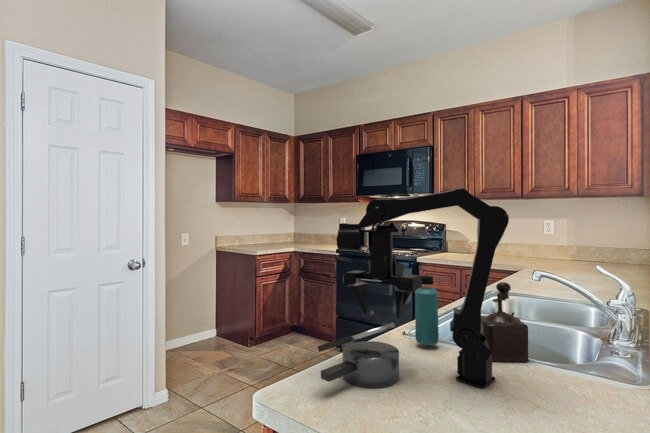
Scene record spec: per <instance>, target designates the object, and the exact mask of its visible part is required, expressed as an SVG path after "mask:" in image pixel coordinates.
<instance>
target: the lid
mask: <svg viewBox="0 0 650 433" xmlns="http://www.w3.org/2000/svg"><path fill="white" fill-rule="evenodd" d="M395 327H396V325H395V323H394V322H391V323H388V324H385V325H381V326H379V327H376V328H372V329H370V330H366V331H363V332H360V333H358V334H355V335H349V336H345V337H342V338H339V339H335V340H333V341H330V342H326V343H324V344H323V343H322V344H320V345H318V346H317V350H318V352H319V353H320V352H323V351H327V350H330V349H334V348H335V347H339V346H342V344H345V343H348V342H351V341H354V342H355V341H358V340H359V339H360V340H361V339H362V338H366V337H369V336H372V335H375V334H378V333H381V332H384V331H387V330H389V329H390V330H391V329H393V328H395Z"/></svg>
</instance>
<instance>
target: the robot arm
mask: <svg viewBox="0 0 650 433" xmlns="http://www.w3.org/2000/svg"><path fill="white" fill-rule="evenodd" d="M451 207H458V208H460V209H461V210H463V211H465V212H466V213H468V214H469V215H471V217H474V218H475V219H476V220H477V229H476V230H477V231H476V232H477V234H476V235H477V236H476V238H477V239H476V241H477V243H476V249H475V253H474V257H473V261H472V266H471V270H470V274H469V279H468V283H467V287H466V291H465V296H464V300H463V303H462V305H461V307H460V308H457V307H454V308H453V316H452V319H451V320H450V323H449V331H450V332H452V340H453V341H454V343H455V345H456V346H457V347H458V348H460V350H458V356H457V357H456V358H457V359H456V360H457V361H456V362H457V363H456V365H457V366H456V367H457V375H456V377H455V380H456V381H457V382H458V381H459V382H462V383H464V384H468V385H471V386H474V387H477V388H480V389H485V388H486V387H488V386H489V385H491V384H492V383H493V382H495V381H496V377H494V376H493V362H492V354H491V350H490V347H489V343H488V340H487V339H486V338H485V337H484V336H483V335H482V334H481V316H482V307H483V303H484V302H483V301H484V298H485V293H486V291H487V290H486V289H487V286H488V281H489V277H490V273H491V270H492V264H493V261H494V257H495V252H496V249H497V247H498V246H499V243H500V242H501V240H502V238H503V236H504V234H505V232H506V230H507V227H508V224H509V222H510V221H509V220H510V216H509V214H508V213H507V211H506V209H504V208H503V207H500V206H497V205H492V206H491V205H489V204H487V203H486V202H485V201H483V200H481V199H480V198H478V197H476V195H475V196H474V195H473V194H471V193H470V192H468V190H467V189H465V188H462V187H457V188H455V189H452V190H446V191H442V192H441V191H440V192H436V193H430V194H423V195H418V196H413V197H407V198H406V197H405V198H373V199H371V200H370V201H369V202H368V204H367V205H366V207H365V208H366V209H365V214H364V216H363V217H362V218H361V220H360V221H359V223H346V222H345V223H344V222H343V223H342V222H340V223H338V224H339V226H338V229H337V230H338V231H337V234H336V235H337V236H336V246H337V250H338V251H346V252H347V251H350V252H351V251H352V252H353V251H354V252H355V251H357V252H360V251H363V249H364V247H365V248H366V247H367V246H368V254H367V255H366V256H365V260H366V261H368V271H366V270H354V269H353V270H351V271H346V272H345V273H344V274H343V277H342V282H343V285H347V288H349V289H350V290H351V292H352V294H353V295H354V296H355V298H356V300H357V303H358V305H359V306H360V307H359V308H360V309H361V311H362V313H363V314H368V288H369V284H370V283H372V284H379V285H380V284H381V285H390V286H395V287H396V288H397V289H396V290H394V299H395V301H394V302H395V312H396V318H397V319H399V320H400V319H401V318H402V315H403V312H404V310H405V307H406V303H407V301H408V299H409V297H410V295H411V294H412V293H415V291H416V290H417V289H419V288H421V287H423V284H422V280H421V278H420V276H421V275H417V274H416V275H415V274H404V270H405V265H404V264H403V263H401V262H399V261H397V260H396V258H397V257H396V254H395V253H394V254H393V233H399V232H401V228H400V227H398V226H397V225H396V223H395V222H394V221H392V222H391V223H390V224H385V225H384V224H382V223H386V222H389V221H391V220H394V219H397V218H400V217H404V216H406V215H409V214H416V213H420V212H427V211H433V210H438V209H445V208H451ZM377 224H378V225H377ZM379 224H380V225H379ZM381 224H382V225H381ZM376 225H377V226H376ZM374 226H376V228H375V229H366V228H369V227H374Z"/></svg>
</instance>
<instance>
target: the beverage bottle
mask: <svg viewBox="0 0 650 433" xmlns="http://www.w3.org/2000/svg"><path fill="white" fill-rule="evenodd" d="M419 276H420V278H421V280H422V285H424V286H422V287H421V288H419V289H416V291H414V294H415V295H414V297H415V298H414V299H415V300H414V301H415V303H414V304H415V306H414V307H415V309H414V311H415V312H414V323H415V330H414V333H415V334H414V336H415V339H414V340H416V343H418V344H421V345H426V346H427V345H429V346H430V345H436V344H438V343H439V339H440V338H439V337H440V335H439V324H440V323H439V322H440V321H439V306H438V301H439V300H438V295H439V293H438V291H437V290H436V289H435V288H434V287H430V286H431V285H434V277H433V276H431V275H419ZM426 285H427V286H426ZM429 285H430V286H429Z"/></svg>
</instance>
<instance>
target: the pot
mask: <svg viewBox="0 0 650 433" xmlns="http://www.w3.org/2000/svg"><path fill="white" fill-rule="evenodd" d="M341 350H342V362H341V363H338V364H335V365H332V366H330V367H328V368H325V369H322V370H320V379H322V380H324V381H326V382H328V383H329V382H332V381H335V380H337V379H339V378H341V377H342V378H343V380H344V381H345V382H346V383H348V384H349V385H352V386H354V387H357V388H363V389H384V388H388V387H392V386H394V385H396V384H397V383H399V380H400V351H399V349H398V348H397V347H396V346H395V345H392V344H389V343H386V342H381V341H373V340H371V341H369V340H367V341H364V340H362V341H355V340H354V341H351V342H348V343H345V344H342V345H341Z"/></svg>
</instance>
